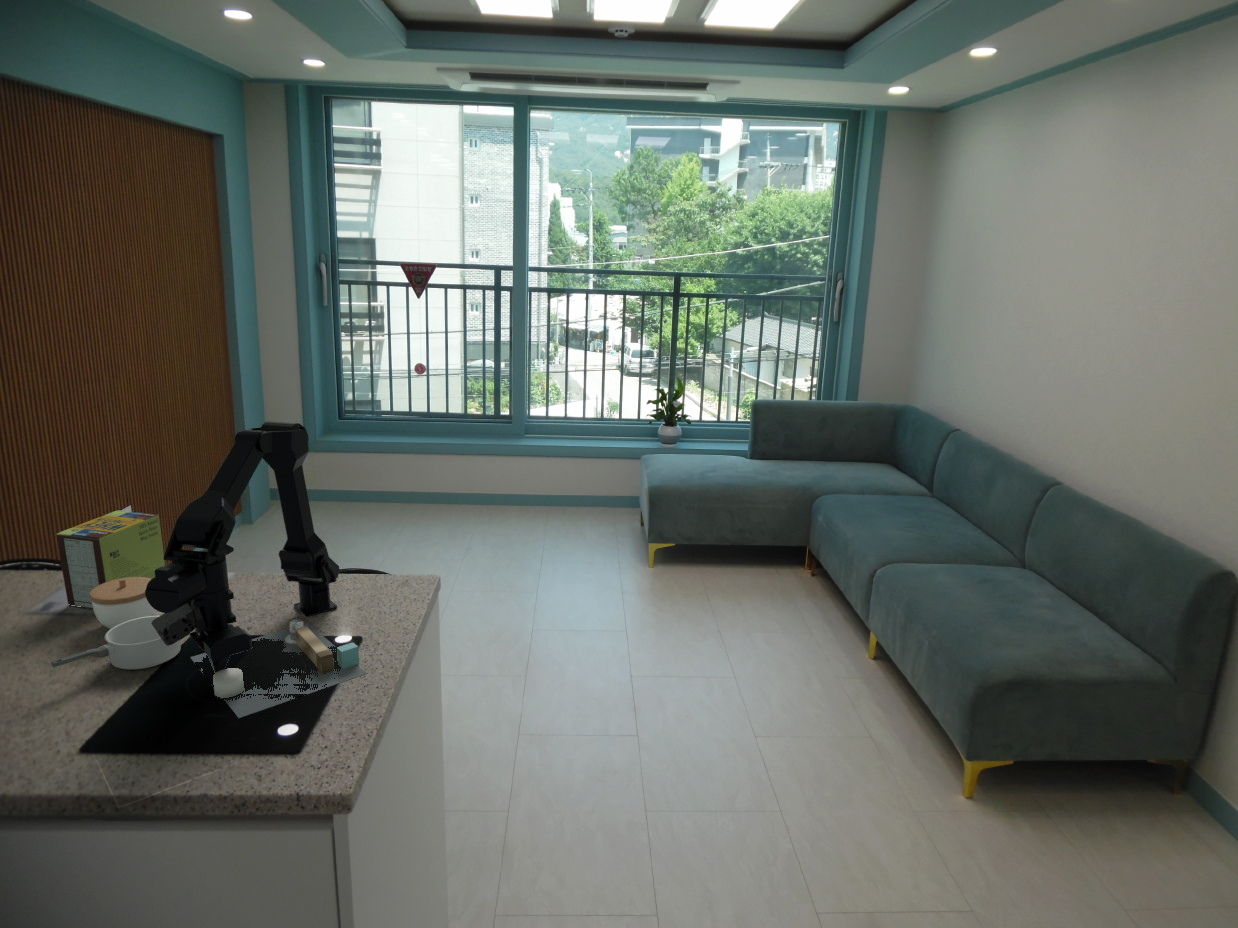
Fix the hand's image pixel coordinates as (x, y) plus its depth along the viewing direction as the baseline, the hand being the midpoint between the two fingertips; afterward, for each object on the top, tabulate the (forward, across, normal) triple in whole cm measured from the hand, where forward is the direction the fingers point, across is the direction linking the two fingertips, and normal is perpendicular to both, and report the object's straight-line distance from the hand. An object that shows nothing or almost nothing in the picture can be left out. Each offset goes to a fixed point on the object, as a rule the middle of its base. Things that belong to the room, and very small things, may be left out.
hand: (219, 673), depth 136 cm
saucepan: (+2, -16, -11) cm, 19 cm away
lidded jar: (+2, -33, -6) cm, 33 cm away
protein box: (+2, -50, -5) cm, 50 cm away
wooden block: (+1, +2, +15) cm, 15 cm away
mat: (+2, +1, +9) cm, 9 cm away
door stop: (+1, +4, 0) cm, 4 cm away
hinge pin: (+1, -7, +16) cm, 17 cm away
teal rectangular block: (+2, +8, +19) cm, 20 cm away
